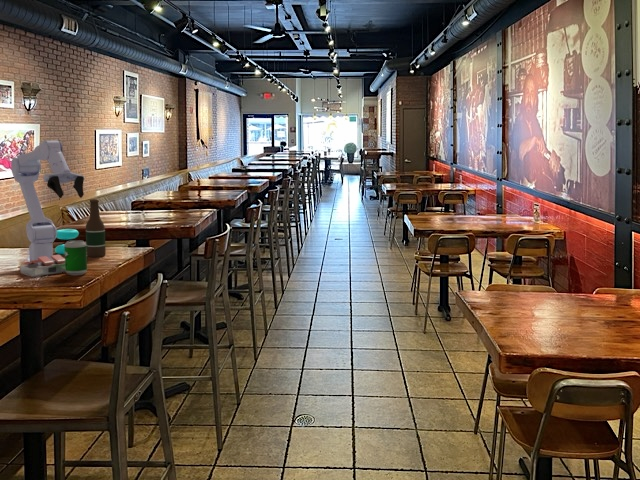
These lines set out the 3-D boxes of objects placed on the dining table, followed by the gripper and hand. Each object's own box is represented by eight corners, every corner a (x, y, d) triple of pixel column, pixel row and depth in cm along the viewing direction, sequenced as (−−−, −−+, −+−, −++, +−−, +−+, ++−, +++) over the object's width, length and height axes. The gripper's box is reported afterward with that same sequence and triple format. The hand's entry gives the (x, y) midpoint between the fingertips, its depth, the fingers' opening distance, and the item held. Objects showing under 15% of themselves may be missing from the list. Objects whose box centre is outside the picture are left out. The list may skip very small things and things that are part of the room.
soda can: (90, 272, 244) (89, 240, 243) (81, 276, 237) (80, 243, 235) (71, 271, 245) (70, 239, 243) (61, 275, 238) (60, 242, 236)
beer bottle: (109, 255, 280) (107, 199, 277) (94, 258, 274) (92, 200, 270) (97, 253, 284) (95, 198, 281) (82, 256, 278) (80, 199, 274)
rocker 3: (50, 257, 247) (50, 255, 246) (58, 256, 249) (59, 254, 249) (58, 263, 243) (58, 261, 243) (66, 262, 245) (66, 260, 245)
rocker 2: (37, 259, 243) (37, 256, 243) (46, 258, 245) (46, 255, 245) (45, 265, 239) (45, 263, 239) (53, 264, 242) (54, 262, 241)
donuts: (83, 229, 285) (64, 232, 277) (84, 252, 287) (65, 255, 278) (68, 228, 290) (48, 230, 282) (69, 250, 292) (49, 253, 283)
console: (20, 273, 240) (20, 263, 240) (59, 267, 251) (59, 258, 251) (32, 277, 234) (31, 266, 234) (72, 271, 245) (71, 261, 245)
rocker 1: (24, 265, 239) (24, 262, 239) (33, 263, 242) (33, 261, 242) (32, 262, 235) (31, 260, 235) (40, 261, 238) (40, 259, 238)
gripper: (43, 159, 232) (56, 188, 227) (82, 160, 243) (94, 188, 238) (37, 172, 236) (49, 201, 231) (75, 172, 246) (87, 201, 242)
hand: (71, 196), depth 234 cm, fingers open, 7 cm apart
